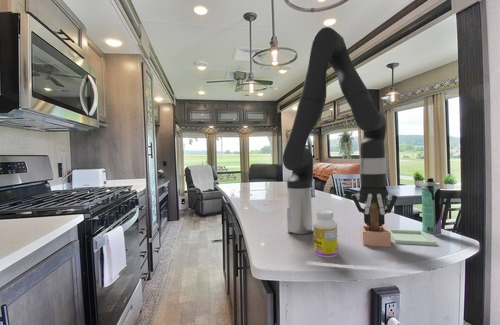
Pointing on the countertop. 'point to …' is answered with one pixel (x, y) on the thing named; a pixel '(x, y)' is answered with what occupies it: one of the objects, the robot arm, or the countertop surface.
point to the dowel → (374, 217)
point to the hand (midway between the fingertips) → (374, 225)
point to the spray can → (431, 208)
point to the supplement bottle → (325, 234)
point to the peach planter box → (375, 237)
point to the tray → (411, 237)
